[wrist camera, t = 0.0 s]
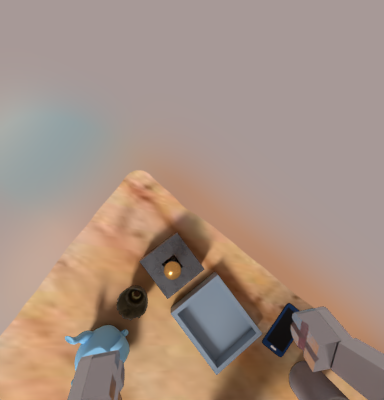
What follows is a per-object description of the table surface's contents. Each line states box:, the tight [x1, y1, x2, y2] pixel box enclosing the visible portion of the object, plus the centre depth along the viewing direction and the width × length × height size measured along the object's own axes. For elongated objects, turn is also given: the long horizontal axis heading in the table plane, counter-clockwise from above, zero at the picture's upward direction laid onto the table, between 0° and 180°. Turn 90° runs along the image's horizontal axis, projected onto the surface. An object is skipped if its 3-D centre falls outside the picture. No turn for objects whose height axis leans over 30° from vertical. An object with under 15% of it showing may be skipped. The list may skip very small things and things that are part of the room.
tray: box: [171, 272, 262, 375], centre depth 61 cm, size 20×16×4 cm
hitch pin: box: [164, 257, 181, 280], centre depth 57 cm, size 4×4×12 cm
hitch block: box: [140, 232, 204, 299], centre depth 60 cm, size 12×12×6 cm
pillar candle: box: [289, 361, 349, 400], centre depth 56 cm, size 10×10×15 cm
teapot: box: [65, 325, 129, 385], centre depth 54 cm, size 13×14×11 cm
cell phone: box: [262, 303, 299, 357], centre depth 64 cm, size 7×14×1 cm, turn 141°
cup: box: [117, 285, 148, 320], centre depth 58 cm, size 8×7×8 cm
